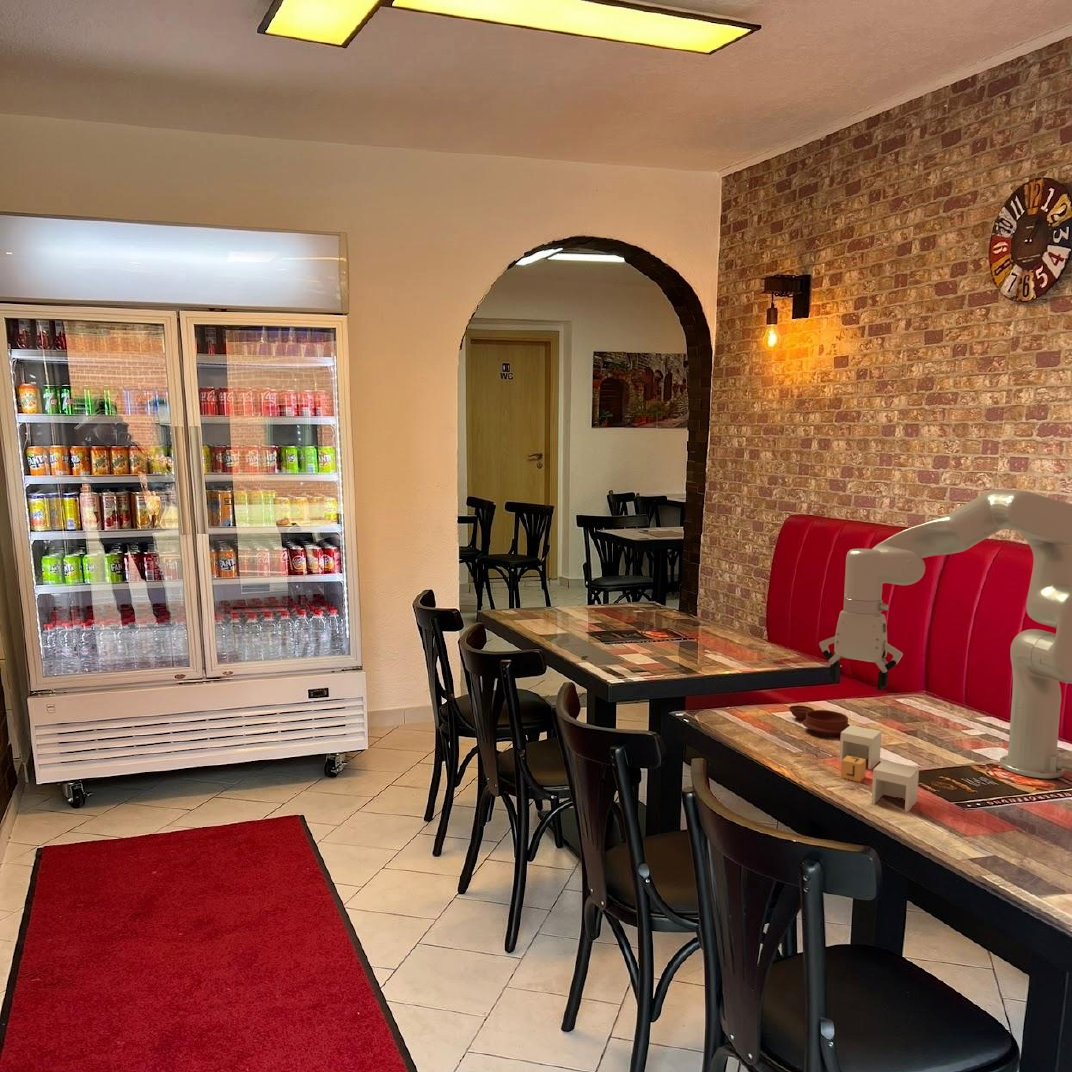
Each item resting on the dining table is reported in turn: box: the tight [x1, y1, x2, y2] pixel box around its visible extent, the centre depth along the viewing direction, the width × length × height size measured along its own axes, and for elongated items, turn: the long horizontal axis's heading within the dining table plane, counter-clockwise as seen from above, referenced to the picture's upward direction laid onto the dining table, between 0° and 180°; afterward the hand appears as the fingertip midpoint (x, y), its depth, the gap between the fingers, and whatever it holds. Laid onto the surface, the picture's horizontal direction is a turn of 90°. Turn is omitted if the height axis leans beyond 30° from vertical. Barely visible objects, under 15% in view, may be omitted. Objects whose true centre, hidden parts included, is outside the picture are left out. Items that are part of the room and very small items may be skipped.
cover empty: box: [870, 759, 920, 813], centre depth 180 cm, size 7×7×7 cm
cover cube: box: [839, 724, 882, 770], centre depth 204 cm, size 7×7×7 cm
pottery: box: [788, 704, 850, 737], centre depth 230 cm, size 12×20×4 cm, turn 17°
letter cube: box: [840, 755, 867, 783], centre depth 194 cm, size 4×4×4 cm
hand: (858, 685), depth 193 cm, fingers open, 9 cm apart
